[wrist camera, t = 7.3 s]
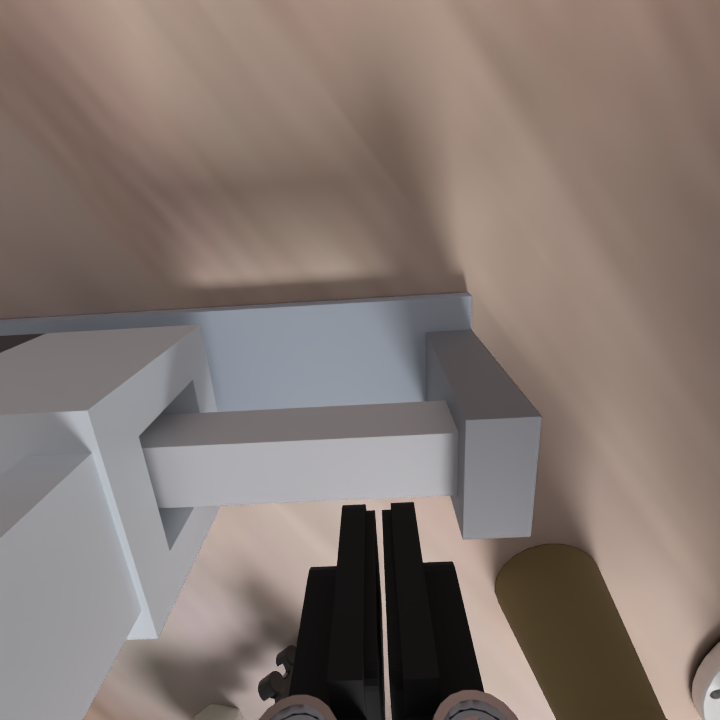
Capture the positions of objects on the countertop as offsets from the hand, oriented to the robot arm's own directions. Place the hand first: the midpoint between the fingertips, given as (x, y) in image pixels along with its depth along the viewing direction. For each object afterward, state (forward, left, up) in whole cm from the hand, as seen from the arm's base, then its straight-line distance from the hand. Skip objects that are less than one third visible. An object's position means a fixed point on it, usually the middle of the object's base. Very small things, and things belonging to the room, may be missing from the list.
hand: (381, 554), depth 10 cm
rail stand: (+8, 0, -11) cm, 14 cm away
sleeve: (+9, 0, -8) cm, 12 cm away
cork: (-9, +14, -12) cm, 20 cm away
